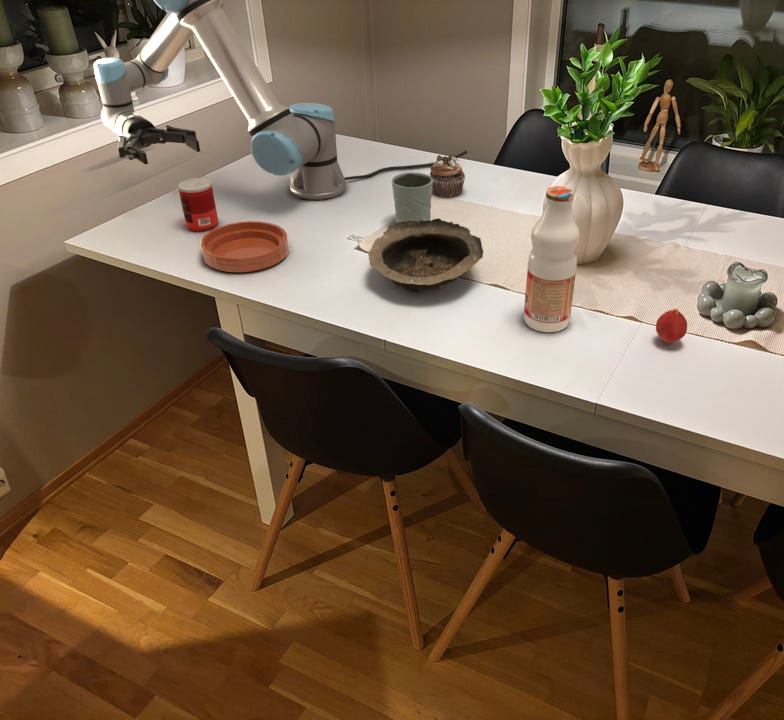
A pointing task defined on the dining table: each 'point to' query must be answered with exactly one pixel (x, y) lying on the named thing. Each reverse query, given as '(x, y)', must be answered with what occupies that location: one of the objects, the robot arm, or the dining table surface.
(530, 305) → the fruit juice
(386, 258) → the stone bowl
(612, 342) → the dining table surface
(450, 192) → the cupcake
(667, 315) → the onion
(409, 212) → the green embossed cup
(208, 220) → the canned food
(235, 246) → the bowl
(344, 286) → the dining table surface
